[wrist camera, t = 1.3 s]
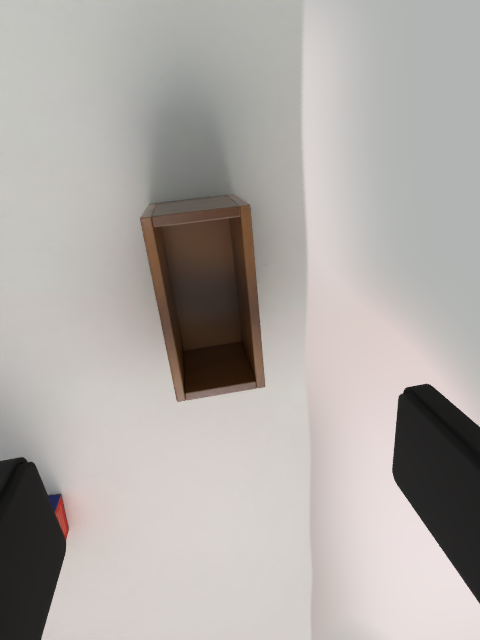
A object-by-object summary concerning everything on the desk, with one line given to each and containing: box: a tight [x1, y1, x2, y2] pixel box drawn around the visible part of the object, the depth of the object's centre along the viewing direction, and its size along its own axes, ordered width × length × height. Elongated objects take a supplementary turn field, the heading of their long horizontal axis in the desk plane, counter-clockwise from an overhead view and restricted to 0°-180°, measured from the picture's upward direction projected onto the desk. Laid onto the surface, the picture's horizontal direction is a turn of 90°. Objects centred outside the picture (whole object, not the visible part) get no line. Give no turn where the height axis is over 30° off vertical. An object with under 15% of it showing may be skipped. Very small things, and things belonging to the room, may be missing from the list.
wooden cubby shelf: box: [140, 194, 265, 402], centre depth 21 cm, size 10×5×6 cm, turn 6°
